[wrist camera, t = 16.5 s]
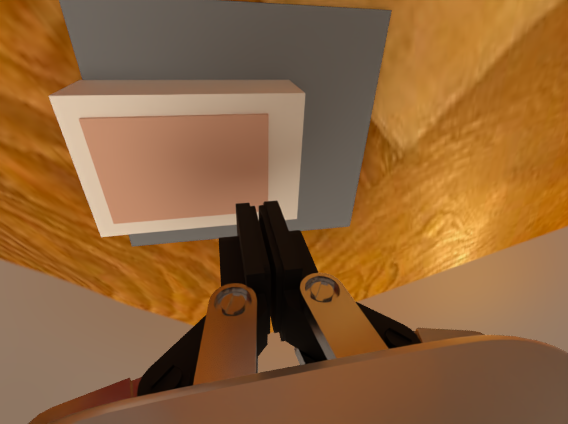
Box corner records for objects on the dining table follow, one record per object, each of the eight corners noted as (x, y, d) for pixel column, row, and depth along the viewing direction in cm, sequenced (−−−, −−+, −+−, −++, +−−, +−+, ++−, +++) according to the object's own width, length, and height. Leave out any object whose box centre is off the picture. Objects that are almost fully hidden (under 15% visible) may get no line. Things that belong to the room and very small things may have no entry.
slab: (306, 94, 16) (46, 97, 13) (297, 221, 20) (99, 239, 18) (288, 79, 19) (79, 79, 17) (284, 190, 23) (117, 202, 21)
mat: (388, 10, 19) (391, 10, 18) (347, 223, 27) (349, 226, 27) (59, -9, 15) (56, -9, 15) (133, 243, 24) (132, 246, 23)
